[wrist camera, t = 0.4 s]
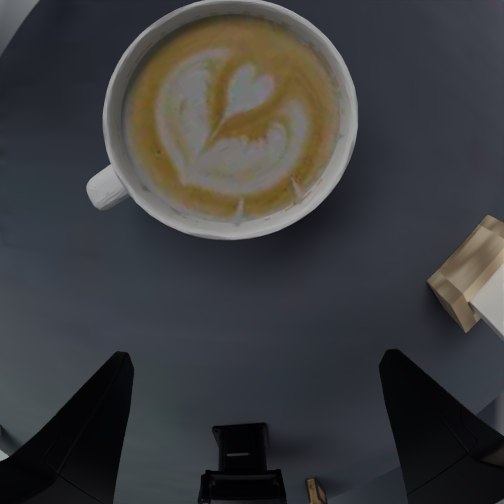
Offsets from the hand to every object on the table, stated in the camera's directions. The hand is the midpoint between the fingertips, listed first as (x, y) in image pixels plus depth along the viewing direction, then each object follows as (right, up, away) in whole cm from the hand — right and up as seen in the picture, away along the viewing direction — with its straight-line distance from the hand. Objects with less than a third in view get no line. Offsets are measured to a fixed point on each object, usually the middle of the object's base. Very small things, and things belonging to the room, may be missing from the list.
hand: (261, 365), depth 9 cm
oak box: (+21, +3, +15) cm, 26 cm away
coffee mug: (-3, +12, +10) cm, 16 cm away
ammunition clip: (+12, -40, +34) cm, 54 cm away
